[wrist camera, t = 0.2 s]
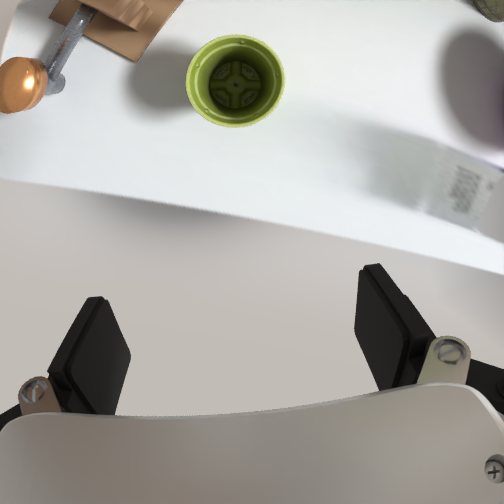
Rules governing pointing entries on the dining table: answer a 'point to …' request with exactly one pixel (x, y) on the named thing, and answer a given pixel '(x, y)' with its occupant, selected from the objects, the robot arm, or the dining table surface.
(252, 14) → the dining table surface
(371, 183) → the dining table surface
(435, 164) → the dining table surface
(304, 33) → the dining table surface
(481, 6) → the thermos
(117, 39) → the eye block
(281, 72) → the plant pot
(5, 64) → the hook rod
